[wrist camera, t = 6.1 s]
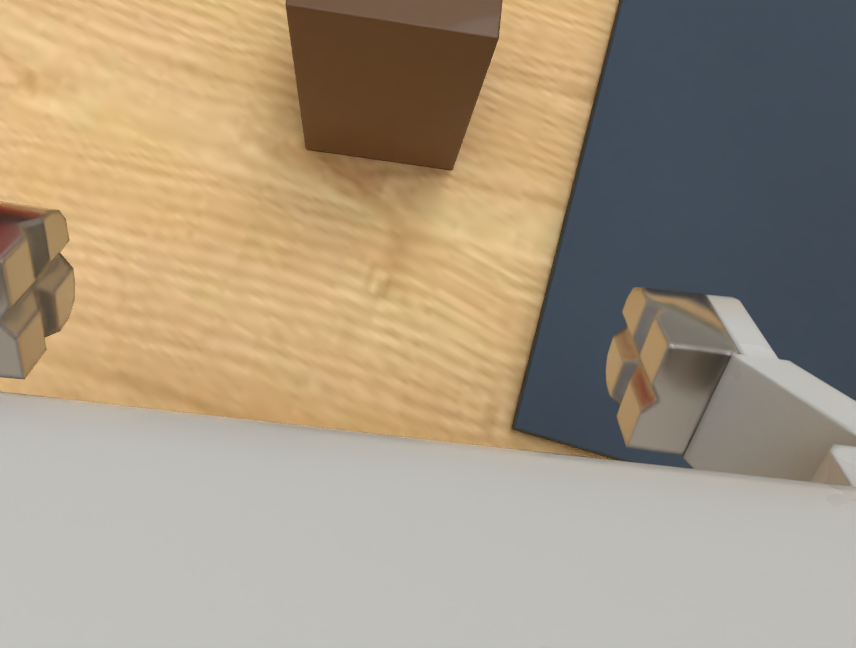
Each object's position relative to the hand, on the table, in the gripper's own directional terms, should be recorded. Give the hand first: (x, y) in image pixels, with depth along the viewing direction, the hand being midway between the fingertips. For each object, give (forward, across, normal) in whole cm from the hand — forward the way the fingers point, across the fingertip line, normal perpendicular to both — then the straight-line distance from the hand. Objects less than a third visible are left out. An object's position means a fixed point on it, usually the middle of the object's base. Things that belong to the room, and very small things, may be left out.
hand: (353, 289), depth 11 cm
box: (+16, 0, +2) cm, 16 cm away
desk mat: (+15, -14, +4) cm, 20 cm away
